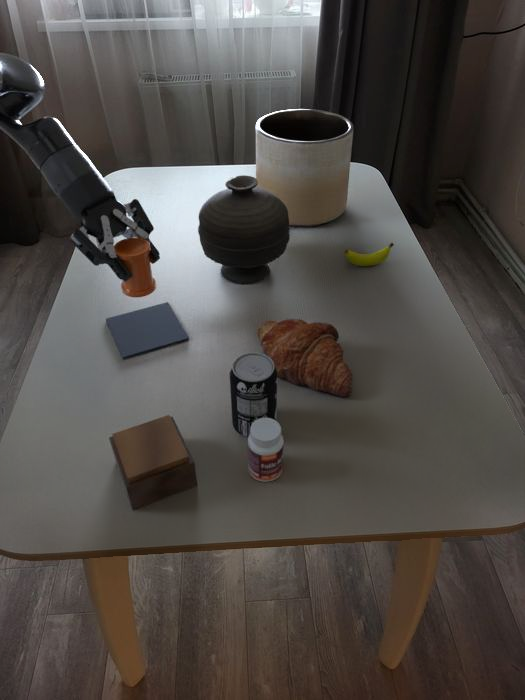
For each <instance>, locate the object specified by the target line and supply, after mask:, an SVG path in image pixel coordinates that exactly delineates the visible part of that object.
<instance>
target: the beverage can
mask: <svg viewBox="0 0 525 700" xmlns="http://www.w3.org/2000/svg"><path fill="white" fill-rule="evenodd" d="M229 388H230V404H231V405H230V407H231V423H232V427H233V429H234V431H235V432H236V433H237V434H238V435H240V436H241V437H244V438H246V439H248V437H249V435H250V428H251V425H252V423H253V422H254V421H256V420H257V419H260V418H271V419H274V420H276V421H277V417H278V416H277V413H278V411H277V410H278V409H277V408H278V378H277V370H276V368H275V367H274V363H273V361H272V359H271V358H270V357H268V356H267V355H266V354H265V353H261V352H256V351H255V352H254V351H253V352H251V351H250V352H245V353H243V354H241V355H240V354H239V356H237V357H236V358H235V359H234V360H233V362H232V366H231V369H230V371H229Z"/></svg>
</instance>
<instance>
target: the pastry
mask: <svg viewBox="0 0 525 700" xmlns="http://www.w3.org/2000/svg"><path fill="white" fill-rule="evenodd" d="M256 334H257V337H258V341H259V345H260V346H261V349H262V351H263V354H265V355H267V356H268V357H270V358H271V359H272V361H273V363H274V367H275V368H276V370H277V379H280V380H283V381H285V382H287V383H290V384H293V385H295V386H304V387H309V388H310V389H312V390H314V391H321V392H325V393H327V394H332V395H334V396H335V397H340V398H347V397H350V395H351V394H352V384H353V383H352V382H353V372H352V370H351V368H350V367H349V366H348V364H346V362H345V360H344V350H343V347H342V346H341V343H339V342H338V340H339V338H340V335H339V330H338V329H337V328H336V327H335V326H334V325H332V324H331V323H328V322H321V321H320V322H315V321H314V322H310V323H308V322H307V321H305V320H303V319H300V318H286V319H282V320H280V321H277V320H266V321H264V322H263V323H262V324H261V325H260V326H259V327H258V328H257V331H256Z"/></svg>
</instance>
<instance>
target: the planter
mask: <svg viewBox="0 0 525 700" xmlns="http://www.w3.org/2000/svg"><path fill="white" fill-rule="evenodd" d="M353 139H354V124H353V122H352V121H350V119H348V118H347V117H344V116H343V115H340V114H338V113H334V112H331V111H326V110H320V109H307V108H306V109H305V108H298V109H297V108H296V109H295V108H294V109H286V110H279V111H274V112H272V113H269V114H266V115H264V116H262V117H260V118H259V119H258V120H257V122H256V124H255V178H256V179H257V181H258V184H257V186H256V187H257V188H262V189H265V190H267V191H269V192H270V193H272V194H274V195H275V196H277V197H278V198H279V199H280V200H281V201H282V202H283V203H284V204H285V206H286V208H287V210H288V217H289V226H292V227H313V226H320V225H323V224H326V223H330V222H331V221H333V220H335V219H337V218H338V217H340V216H341V215H343V213H344V212H345V210H346V208H347V203H348V196H349V195H348V194H349V183H350V172H351V171H350V169H351V158H352V147H353Z"/></svg>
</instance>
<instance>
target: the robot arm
mask: <svg viewBox="0 0 525 700" xmlns="http://www.w3.org/2000/svg"><path fill="white" fill-rule="evenodd" d="M45 92H46V88H45V83H44V80H43V78H42V76H41V75H40V73H39V72H38V71H37V69H36V68H34V67H33V66H32V65H31V64H30V63H29V62H28V61H26V60H24V59H22V58H21V57H18V56H16V55H13V54H9V53H4V52H0V130H1V131H3V132H4V133H5V134H6V135H8V136H9V137H10V138H11V139H12V140H13V141H14V142H15V143H17V145H18V146H20V148H21V149H22V150H23V151H24V152H25V153H26V154H27V155H28V157H29V158H30V160H31V161H32V162H33V163H34V165H35V166H36V167H37V168H38V170H39V171H40V173H41V174H42V176H43V177H44V179H45V181H46V182H47V184H48V186H49V187H50V189H51V190H52V191H53V193H54V194H55V195H56V196H57V197H58V199H59V200H60V201H61V202H62V205H64V206H65V208H66V209H67V210H68V212H69V213H70V214H71V216H72V217H73V218H74V220H76V221H78V223H79V226H80V228H76V229H74V230H73V232H72V234H71V235H70V237H69V241H70V242H71V244H72V245H73V246H74V247H75V248H76V249H78V251H79V252H80V253H81V254H82V255H83V256H84V257H86V259H88V260H89V261H90V263H91V264H93V266H96V267H98V266H100V265H103V264H106V265H107V266H108V267H109V268H110V269H111V270H112V272H113V273H114V275H116V278H118V279H119V280H120V281H122V279H123V281H125V282H126V281H127V280H129V279H130V278H131V277H132V273H131V272H130V270H129V269H128V268H127V266H126V265H125V264H124V262H123V261H122V260H121V259H120V257H119V256H118V257H116V252H115V249H114V245H115V244H114V243H115V240H114V238H117V237H120V236H122V237H123V238H124V239H126V238H134V237H136V238H143V239H145V240H147V241H148V242H149V243H150V248H151V250H150V252H149V258H150V264H152V265H154V264H155V263H157V262H158V261H159V260H160V259H161V257H160V252H159V250H158V249H157V247H156V246H155V245H154V243H153V242H152V240H151V239H150V235H151V234H152V232H153V231H154V229H155V228H154V227H155V226H154V225H153V224H152V222H151V220H150V218H149V217H148V214H147V213H146V211H145V210H144V208H143V206H142V204H141V202H140V201H139V200H138V199H137V198H134V199H132V201H131V202H128V203H122V202H121V201H119V200H118V199H117V197H116V196H115V192H114V190H113V189H112V188H111V186H110V185H109V183H108V182H107V181H106V179H105V178H104V176H102V174H101V173H100V171H98V169H97V168H96V166H95V165H94V164H93V162H92V161H91V159H90V158H89V157H88V156H87V155H86V153H84V152H83V150H81V149H80V147H79V146H78V144H77V143H76V142H75V141H74V139H73V138H72V137H71V135H70V134H69V133H68V131H67V130H66V129H65V127H64V126H63V125H62V123H61V122H60V121H59V120H58V119H57V118H55V117H54V116H42V117H40V118H37V119H35V120H32V121H31V122H27V123H25V124H22V123H21V121H20V120H21V118H23V117H24V116H25V115H27V114H28V113H29V112H31V110H32V109H34V108H35V107H36V106H37V105H39V104H40V103H41V101H42V100H43V99H44V97H45ZM129 217H130V218H129ZM90 237H93V238H95V240H96V244H95V242H93V241H92V240H91V239H90ZM123 281H122V282H123Z"/></svg>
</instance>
